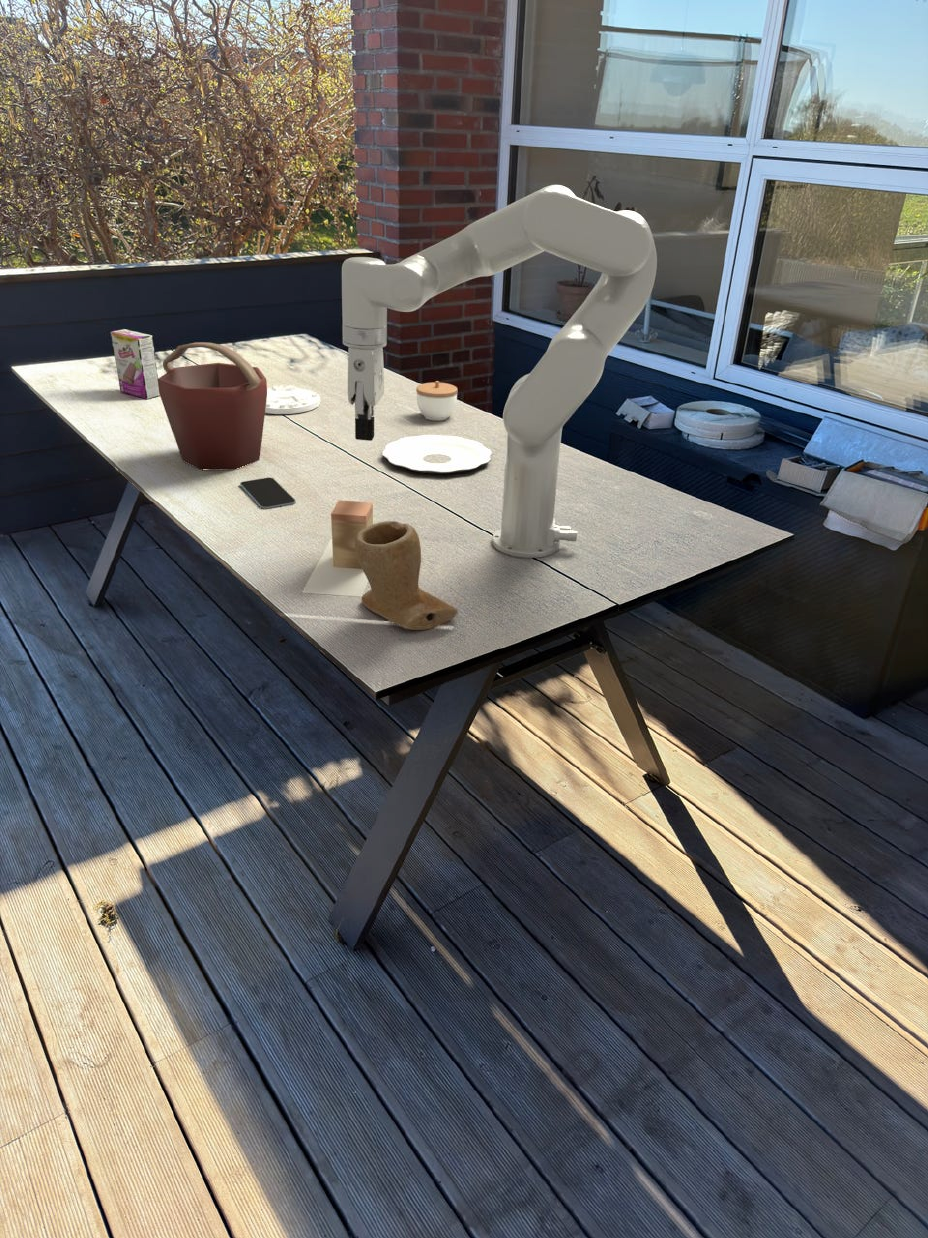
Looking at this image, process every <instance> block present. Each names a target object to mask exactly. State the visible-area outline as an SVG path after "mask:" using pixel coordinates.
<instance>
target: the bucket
mask: <svg viewBox="0 0 928 1238" xmlns="http://www.w3.org/2000/svg"><path fill="white" fill-rule="evenodd" d="M189 348H190V349H191V348H202V349H203V348H204V349H209V350H212V351H215V352H217V353H219V354H220V355H222V356H224V357H225V358H226V359H228V360H229V361H231V362H232V363H233V364H232V363H225V362H224V363H223V362H211V363H205V364H195V365H187V366H177V367H174V366H173V365H172V364H171V363H172V362H173V361H175V360H178V359H179V358H180V357H182V356H183V355H184V354H185V353H186V351H187V350H188V349H189ZM162 368H163V370H164V371H165V372H166V373H164V374H162V376H160V377H158V379H157V380H158V388H159V394H160V396H159V397H160V399H161V402H162V405H163V408H164V411H165V413H166V416H167V420H168V422H169V425H170V426H169V427H170V429H171V431H172V434H173V437H174V440H175V443H176V446H177V448H178V449H177V450H178V451H179V455H180V457H181V460H183V461H185V462H187V463H189V464H191V465H193V466H192V467H194V466H195V467H194V468H196V467H197V468H196V469H198V468H199V469H198V470H200V469H202V470H201V471H204V470H203V469H237V468H239V469H241V468H243V467H242V466H244V467H246V466H248V465H247V464H249V465H251V464H253V463H252V462H254V463H255V461H256V462H258V461H260V458H261V451H262V450H261V448H262V441H263V431H264V426H265V425H264V422H265V415H266V413H265V408H266V399H267V388H268V385H267V378H266V376H265V375H264V373H263V372H262V371H261V369H260V368H259V367H257V366H252V365H251V364H250V363H249V362H248V361H247V360H246V359H245V358H244V357H243V356H242V355H240V354H239V353H237V352H236V351H235V350H232V349H231V348H230V347H228V346H225V345H221V344H218V343H213V342H205V341H204V342H193V343H187V344H186V343H185V344H182V345H178V346H177V347H176V348H175V349H174V350H173V351H172V352H171V353H170V355H168V356H166V358H165V359H164V360H163V361H162ZM183 461H182V462H183ZM185 462H184V463H185ZM187 463H186V464H187ZM250 463H251V464H250ZM189 464H188V465H189ZM191 465H190V466H191ZM245 465H246V466H245ZM240 467H241V468H240ZM237 470H238V469H237Z"/></svg>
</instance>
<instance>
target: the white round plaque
mask: <svg viewBox="0 0 928 1238" xmlns="http://www.w3.org/2000/svg"><path fill="white" fill-rule="evenodd" d="M320 404H321V396H320V395H319V394H318V392H315V391H312V390H309V389H305V388H298V387H296V385H286V386H285V387H284V385H281V384H279V385H272V387H269V388H268V387H267V399H266V408H265V414H272V415H273V414H274V415H289V414H290V415H293V414H298V413H300V414H301V413H304V412H305V413H306V412H309V411H313V410H314V409H317V408H318V407H319V406H320Z"/></svg>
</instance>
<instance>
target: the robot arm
mask: <svg viewBox="0 0 928 1238" xmlns="http://www.w3.org/2000/svg"><path fill="white" fill-rule="evenodd" d="M544 252H547V253H548V254H552V255H554V256H556V257H559V258H561V259H564V260H566V261H569V262H571V263H574V264H576V265H577V264H578V265H580V266H583V267H585V268H589V269H591V270H593V271H597V272H599V273H601V274H600V277H599V279H598V281H597V283H596V284H595V286H594V287H593V288H592V290H591V291H589V294H588V295H587V296H586V298H585V299H584V301H583V302H582V303H581V305H580V306H579V307H578V309H577V310H576V311H575V312H574V313H573V315H571V318H570V319H569V320H567V322H566V323H565V325H564V326H562V328H560V330H559V331H558V332H557V333H555V335H554V336H553V338H552V339H551V341H550V342H549V345H548V347H547V350H546V352H545V353H544V354H543V356H542V357H541V358H540V359H539V361H538V362H537V364H536V365H535V366H534V367H533V369H532V370H531V371H530V373H527V374H525V375H523V376H522V377H520V378H519V379H518V380H517V381H516V382H515V383H514V385H513V386H512V388H511V389H510V392H509V394H508V396H507V399H506V402H505V405H504V408H503V413H502V421H503V422H502V423H503V426H504V429H505V431H506V433H507V434H506V444H505V445H506V446H505V459H504V460H505V462H504V471H503V472H504V476H503V491H502V509H501V510H502V511H501V526H500V529H498V530H496V531H495V532H493V534H492V538H491V543H492V545H493V547H494V548H495V549H496V550H498V551H499V552H501V553H503V554H506V555H509V556H511V557H518V558H525V559H527V558H528V559H530V558H531V559H535V558H542V557H543V556H544V557H546V556H550V555H553V554H554V553H556V552H557V551H558V550H559V548H560V545H561V544H560V541H566V542H577V539H578V531H576V530H571V526H559V524H556V518H555V514H554V513H555V505H556V496H557V495H556V494H557V484H558V472H559V471H558V470H559V465H560V462H559V461H560V453H561V451H560V450H561V442H562V431H563V427H564V425H565V424H566V423H567V422H568V421H569V420H570V418H571V417H572V416H573V414H575V412H576V411H577V410H578V408H579V407H580V406H581V405H582V404H583V403H584V402H585V400H586V399H587V398H588V397H589V395H590V394H591V393H592V391H593V390H594V388H596V386H597V384H598V383H599V381H600V379H601V378H602V375H603V372H604V369H605V363H606V359H607V357H608V356H609V355H610V353H611V352H612V351H613V350H614V348H615V347H616V345H617V344H618V343H619V341H620V340H622V338H623V337H624V335H625V334H626V333H627V332H628V330H629V329H630V327H631V326H632V325H633V323H634V322H635V321H636V320H637V318H638V316H640V314H641V313H642V312H643V310H644V308H645V307H646V304H647V303H648V301H649V299H650V297H651V293H652V291H653V288H654V285H655V280H656V276H657V265H658V257H657V256H658V255H657V249H656V244H655V239H654V237H653V232H652V230H651V227H650V225H649V224H648V221H646V219H645V218H644V217H643V216H642V215H641V214H640V213H638V212H636V211H633V210H627V209H625V210H618V211H614V210H611V209H609V208H605V207H603V206H600V205H598V204H595V203H592V202H589V201H587V200H584V199H583V198H580V197H577V195H575V193H574V192H573V191H572V190H571V189H570V188H568V187H566V186H564V185H562V184H551V185H547V186H544V187H543V188H541V189H539V190H536V191H534V192H532V193H531V194H527V196H524V197H522V198H520V199H518V200H516V201H514V202H512V203H511V204H507V205H506V206H505V207H502V208H500V209H498V210H496V211H494V212H492V213H489V214H488V215H486V216H484V217H482V218H479V219H478V220H475V221H474V222H472V223H470V224H468V225H467V226H465V227H464V228H463V229H462V230H460V231H458V232H457V233H455V234H453V235H452V236H449V237H447V238H446V239H443V240H441V241H439V242H437V243H435V244H434V245H430V246H429V247H427V248H425V249H423V250H421V251H419V252H417V253H414V254H413V255H411V256H408V257H406V258H405V259H403V260H402V261H400V262H397V263H395V264H386V263H385V262H384V261H383V260H382V259H380V258H376V257H375V258H374V257H368V256H355V257H349V258H346V259H345V260H344V262H343V263H342V266H341V299H342V300H341V302H342V303H341V305H342V306H341V307H342V308H341V309H342V310H341V311H342V314H341V315H342V344H343V345H344V346H346V347H348V351H347V353H348V354H347V355H348V356H347V399H348V403H349V404H350V405H351V406H353V405H354V413H355V415H354V429H355V431H354V437H355V440H358V441H367V442H368V441H373V440H374V438H375V416H374V415H375V407H376V406H377V405H378V404H379V402H380V401H381V400H382V397H383V396H384V393H385V375H384V352H383V351H384V350H383V348H385V347H386V346H388V345H387V333H388V332H387V328H388V325H387V324H388V322H387V321H388V318H387V317H388V309H390V310H393V311H396V312H401V313H403V312H404V313H411V312H414V311H416V310H418V309H420V308H421V307H422V306H423V305H424V304H425V303H426V302H427V301H429V300H430V299H432V298H433V297H435V296H437V295H439V294H442V293H443V292H446V291H448V290H449V289H451V288H454V287H456V286H458V285H460V284H463V283H465V282H468V281H470V280H473V279H476V278H480V277H490V276H493V275H497V274H499V273H501V272H503V271H506V270H507V269H510V268H512V267H514V266H516V265H518V264H520V263H523V262H524V261H526V260H529V259H531V258H533V257H535V256H537V255H539V254H542V253H544ZM557 549H558V550H557ZM556 550H557V551H556ZM555 551H556V552H555ZM552 553H553V554H552Z"/></svg>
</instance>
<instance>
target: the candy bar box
mask: <svg viewBox="0 0 928 1238" xmlns="http://www.w3.org/2000/svg"><path fill="white" fill-rule="evenodd" d="M110 337H111V343H112V349H113V355H114V361H115V366H116V367H115V368H116V372H117V378H118V384H119V385H118V386H119V392H120V393H123V394H125V395H130V396H133V397H137V398H141V399H145V400H151V399H154V398H155V399H156V398H158V397H160V394H159V388H158V380H157V379H159V376H158V369H157V362H156V356H155V347H154V341H153V340H154V339H153V335H151V334H147V333H143V332H139V331H134V330H131V329H125V328H123V329H118V330H113V331H110Z"/></svg>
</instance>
